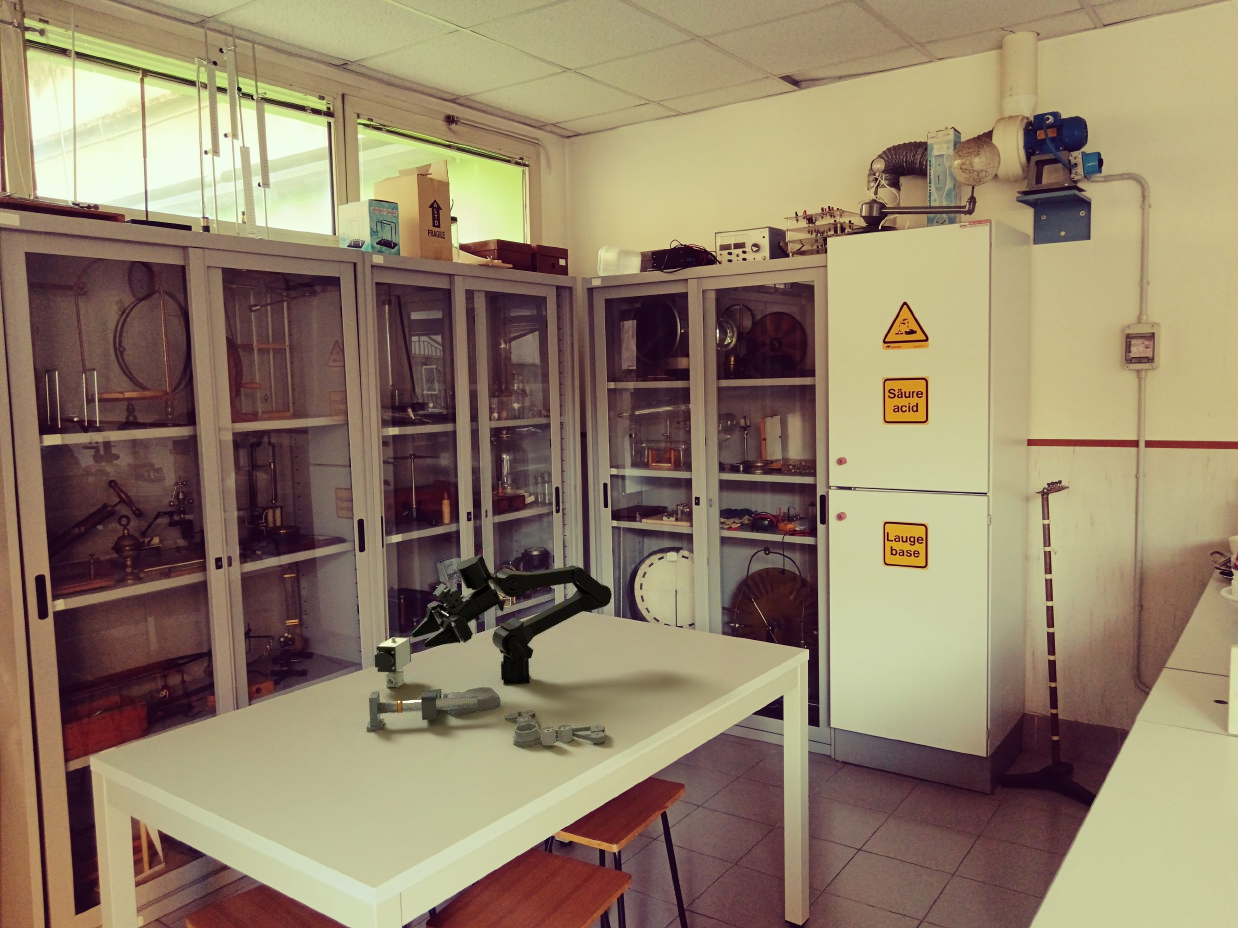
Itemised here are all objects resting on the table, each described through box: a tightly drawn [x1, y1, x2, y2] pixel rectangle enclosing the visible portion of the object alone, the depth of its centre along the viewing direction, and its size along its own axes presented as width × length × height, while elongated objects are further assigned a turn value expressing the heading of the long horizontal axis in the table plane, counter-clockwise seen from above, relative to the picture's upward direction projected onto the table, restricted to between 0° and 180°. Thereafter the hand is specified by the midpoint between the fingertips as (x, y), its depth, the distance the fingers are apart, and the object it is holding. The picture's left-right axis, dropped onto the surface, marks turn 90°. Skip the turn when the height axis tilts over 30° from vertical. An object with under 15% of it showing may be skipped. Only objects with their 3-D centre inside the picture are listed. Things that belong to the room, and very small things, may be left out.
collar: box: [420, 688, 443, 721], centre depth 199 cm, size 3×14×5 cm, turn 7°
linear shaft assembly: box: [366, 691, 478, 732], centre depth 194 cm, size 23×5×7 cm, turn 97°
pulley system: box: [504, 709, 607, 748], centre depth 186 cm, size 27×5×15 cm
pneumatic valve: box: [374, 636, 413, 689], centre depth 221 cm, size 6×12×12 cm, turn 168°
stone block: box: [442, 686, 501, 717], centre depth 205 cm, size 12×5×10 cm
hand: (418, 640), depth 210 cm, fingers open, 9 cm apart
